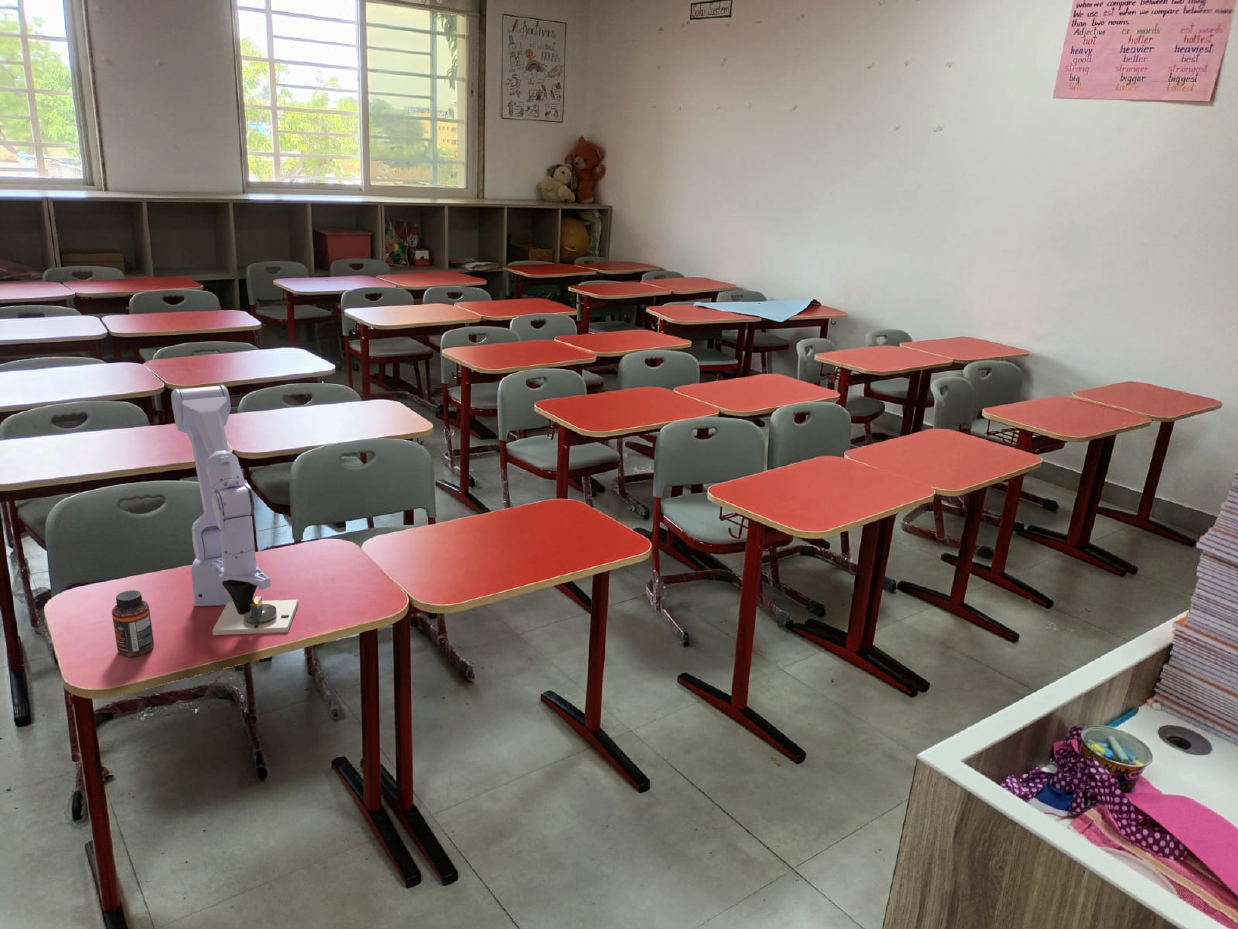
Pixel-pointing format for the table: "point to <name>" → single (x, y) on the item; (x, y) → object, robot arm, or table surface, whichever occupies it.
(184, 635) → the table surface
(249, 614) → the dial
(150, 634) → the supplement bottle
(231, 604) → the dial plate
